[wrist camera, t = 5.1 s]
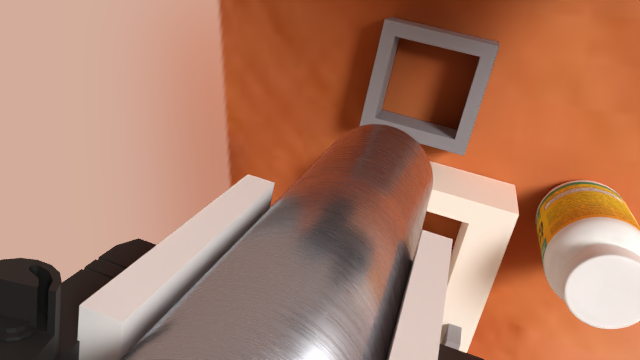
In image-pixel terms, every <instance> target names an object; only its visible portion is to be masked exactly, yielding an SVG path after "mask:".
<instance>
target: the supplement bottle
mask: <svg viewBox="0 0 640 360" xmlns="http://www.w3.org/2000/svg"><path fill="white" fill-rule="evenodd" d="M535 223H536V230H537V235H538V240H539V246H540V251H541V257H542V263H543V267H544V273H545V276H546V279H547V281H548V283H549V285H550V287H551V288H552V290H553V291H554V292H555V293H556V294H557V295H558V296H559V297H560V298H561V299H562V300H564V301H565V302H566V305H567V306H568V308H569V310H570V311H571V312H572V313H573V315H575V316H576V317H577V318H578V319H579V320H581V321H582V322H584V323H586V324H588V325H590V326H593V327H597V328H602V329H618V328H623V327H627V326H630V325H633V324H635V323H637V322H639V321H640V226H639V225H638V223H637V221H636V220H635V218H634V216H633V215H632V213H631V212H630V210H629V208H628V207H627V205H626V204H625V202H624V200H623V199H622V198H621V197H620V196H619V195H618V194H617V193H616V192H615V191H614V190H613V189H611V188H609V187H608V186H605V185H603V184H601V183H598V182H594V181H589V180H575V181H570V182H566V183H563V184H561V185H559V186H557V187H555V188H553V189H552V190H551V191H550V192H549V193H548V194H547V195H546V196H545V197H544V198H543V200H542V201H541V203H540V204H539V206H538V209H537V212H536V218H535Z"/></svg>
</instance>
